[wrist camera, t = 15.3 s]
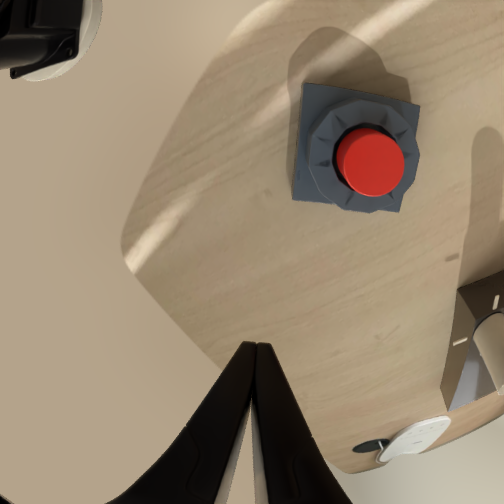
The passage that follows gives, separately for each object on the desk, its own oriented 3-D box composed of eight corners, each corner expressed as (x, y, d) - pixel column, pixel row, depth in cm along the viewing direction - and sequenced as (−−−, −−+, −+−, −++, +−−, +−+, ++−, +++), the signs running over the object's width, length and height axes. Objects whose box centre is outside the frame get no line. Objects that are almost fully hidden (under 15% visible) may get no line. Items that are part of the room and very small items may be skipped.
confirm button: (332, 181, 15) (338, 192, 14) (340, 123, 13) (348, 128, 12) (386, 189, 15) (397, 201, 14) (397, 133, 13) (410, 140, 12)
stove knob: (476, 321, 18) (507, 381, 13) (508, 307, 17) (541, 361, 12) (469, 347, 20) (494, 404, 14) (499, 334, 19) (526, 386, 14)
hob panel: (438, 279, 21) (458, 312, 18) (560, 228, 17) (583, 250, 13) (426, 392, 30) (434, 418, 27) (523, 348, 26) (535, 369, 23)
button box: (291, 193, 18) (293, 213, 16) (301, 82, 15) (307, 82, 12) (393, 205, 18) (409, 226, 16) (412, 104, 15) (435, 109, 12)
